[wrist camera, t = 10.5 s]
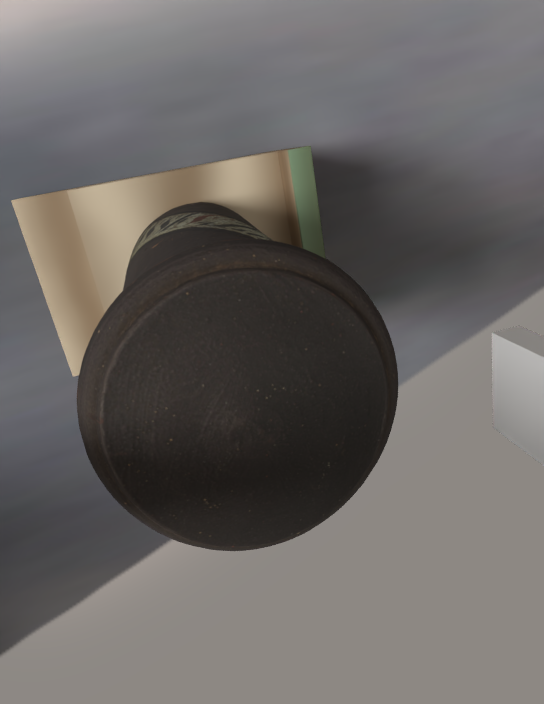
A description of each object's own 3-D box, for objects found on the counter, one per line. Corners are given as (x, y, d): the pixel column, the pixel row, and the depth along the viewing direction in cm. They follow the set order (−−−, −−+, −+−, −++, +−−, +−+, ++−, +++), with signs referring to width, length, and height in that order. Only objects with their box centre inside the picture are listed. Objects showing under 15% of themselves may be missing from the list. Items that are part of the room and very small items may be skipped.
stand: (79, 361, 38) (54, 421, 29) (23, 197, 34) (-26, 208, 25) (298, 310, 40) (337, 352, 31) (272, 151, 36) (310, 145, 27)
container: (283, 217, 31) (467, 291, 12) (249, 355, 33) (360, 585, 15) (137, 181, 28) (97, 205, 10) (113, 331, 31) (45, 571, 13)
